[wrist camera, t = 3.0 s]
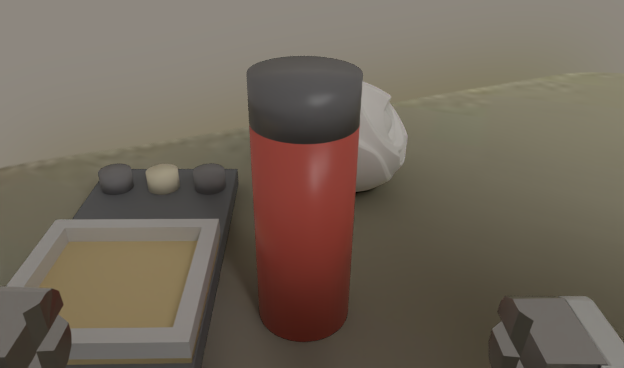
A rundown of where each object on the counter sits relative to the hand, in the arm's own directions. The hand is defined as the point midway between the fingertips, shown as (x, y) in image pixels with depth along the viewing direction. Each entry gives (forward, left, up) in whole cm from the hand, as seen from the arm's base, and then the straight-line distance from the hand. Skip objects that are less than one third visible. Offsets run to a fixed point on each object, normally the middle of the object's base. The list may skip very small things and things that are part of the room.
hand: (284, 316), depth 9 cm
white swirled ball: (+24, -4, -11) cm, 27 cm away
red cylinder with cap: (+12, -1, -11) cm, 16 cm away
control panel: (+15, +8, -11) cm, 20 cm away
